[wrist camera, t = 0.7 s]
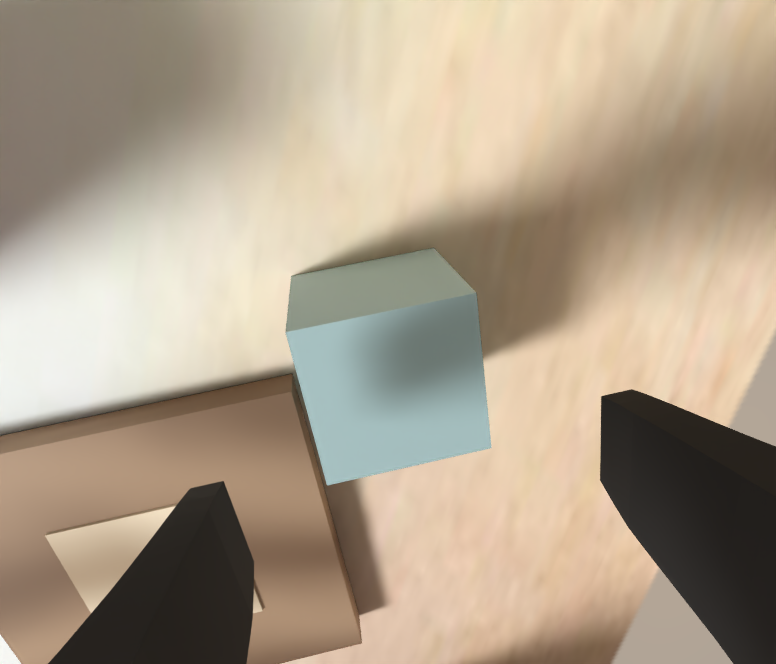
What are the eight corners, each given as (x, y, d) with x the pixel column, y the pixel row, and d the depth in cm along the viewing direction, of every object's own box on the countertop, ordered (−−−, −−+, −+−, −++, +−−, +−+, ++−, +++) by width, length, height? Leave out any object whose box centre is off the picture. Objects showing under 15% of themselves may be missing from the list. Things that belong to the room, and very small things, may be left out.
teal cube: (449, 371, 18) (491, 448, 14) (322, 398, 17) (326, 485, 13) (433, 246, 16) (476, 292, 12) (291, 275, 16) (285, 332, 12)
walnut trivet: (359, 616, 22) (362, 645, 21) (73, 686, 21) (59, 720, 20) (292, 373, 17) (291, 393, 16) (-84, 453, 16) (-115, 480, 15)
